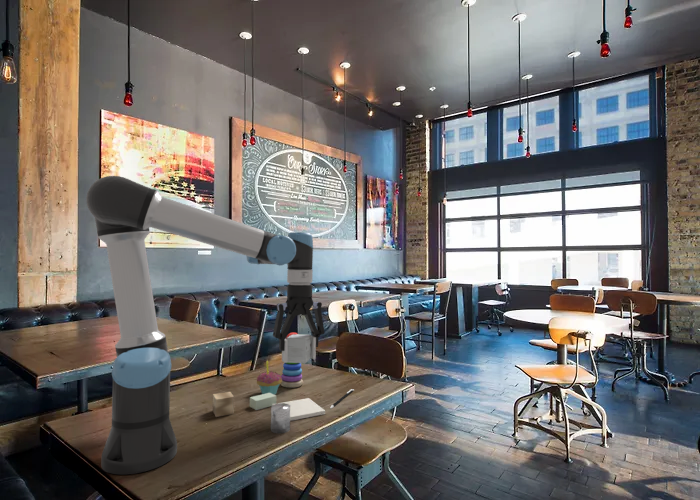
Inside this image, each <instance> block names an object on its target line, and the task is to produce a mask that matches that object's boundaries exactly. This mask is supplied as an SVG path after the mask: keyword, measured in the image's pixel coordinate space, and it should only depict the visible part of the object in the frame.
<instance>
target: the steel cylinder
mask: <svg viewBox="0 0 700 500" xmlns="http://www.w3.org/2000/svg"><path fill="white" fill-rule="evenodd" d="M278 403H279V404H277V403H276V404H274V405H272V406H270V431H271V432H272V433H273V434H284V433H288V432H290V430H291V421H290V405H289V404H285V403H283V402H278Z"/></svg>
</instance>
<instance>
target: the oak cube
mask: <svg viewBox="0 0 700 500" xmlns="http://www.w3.org/2000/svg"><path fill="white" fill-rule="evenodd" d="M234 408H235V396H234V395H233V394H232V392H231V391H226V392H219V393H212V412H213V414H214V415H215V417H216V418H217V417H224V416H229V415H234V413H235V411H234V410H235V409H234Z"/></svg>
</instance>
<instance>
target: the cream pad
mask: <svg viewBox="0 0 700 500" xmlns="http://www.w3.org/2000/svg"><path fill="white" fill-rule="evenodd" d="M279 403H280V402H278V403H277V402H276V404H279ZM282 403H285V404H289V405H290V422H291V421H297V420H302V419H308V418H311V417H317V416H323V415H325V414H326V410H325V409H324V408H323V407H321V406H320V405H319V404H317V403H316V402H315V401H313V400H312V399H311V398H309V397H306V398H302V399H294V400H290V401H283V402H282ZM272 405H274V404H272Z"/></svg>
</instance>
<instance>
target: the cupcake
mask: <svg viewBox="0 0 700 500" xmlns="http://www.w3.org/2000/svg"><path fill="white" fill-rule="evenodd" d="M265 367H266V371H265V372H262V373H259V375H258V376H257V377H256V384H257V386H258V387H259V389H260V392H261V395H262V394H266V393H272V394H274V395H276V394H277V392H278V389H279V386H280V385H281V383H282V377H281V375H280V374H279V373H278V372H276V371H272V370H271V371H269V369H270V368H269V360H266V366H265Z"/></svg>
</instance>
